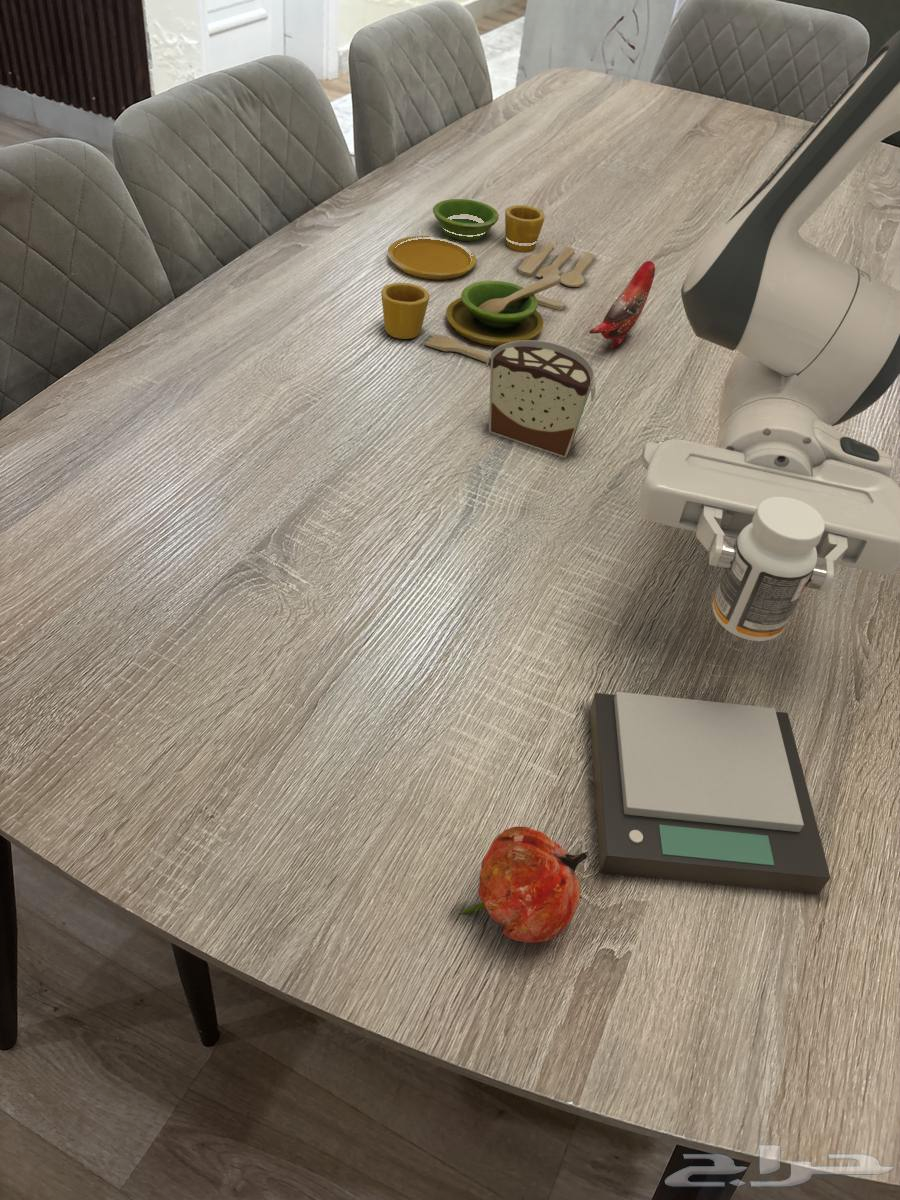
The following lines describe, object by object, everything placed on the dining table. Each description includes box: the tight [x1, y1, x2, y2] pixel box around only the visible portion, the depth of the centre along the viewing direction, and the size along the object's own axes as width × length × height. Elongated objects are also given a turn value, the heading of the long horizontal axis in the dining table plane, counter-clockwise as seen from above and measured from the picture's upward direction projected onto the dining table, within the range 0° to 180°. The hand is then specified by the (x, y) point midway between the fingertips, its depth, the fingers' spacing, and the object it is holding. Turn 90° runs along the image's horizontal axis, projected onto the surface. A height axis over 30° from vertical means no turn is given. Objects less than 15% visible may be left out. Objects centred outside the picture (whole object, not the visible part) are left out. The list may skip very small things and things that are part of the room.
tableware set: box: [380, 198, 595, 363], centre depth 130 cm, size 41×28×6 cm
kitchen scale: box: [588, 691, 831, 895], centre depth 72 cm, size 16×15×4 cm
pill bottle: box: [711, 497, 825, 642], centre depth 68 cm, size 6×6×10 cm
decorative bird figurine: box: [588, 260, 656, 351], centre depth 119 cm, size 3×18×10 cm, turn 147°
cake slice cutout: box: [484, 339, 596, 459], centre depth 104 cm, size 12×6×10 cm, turn 65°
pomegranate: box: [459, 826, 591, 944], centre depth 63 cm, size 7×7×10 cm
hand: (771, 572), depth 67 cm, fingers closed on pill bottle, 5 cm apart
